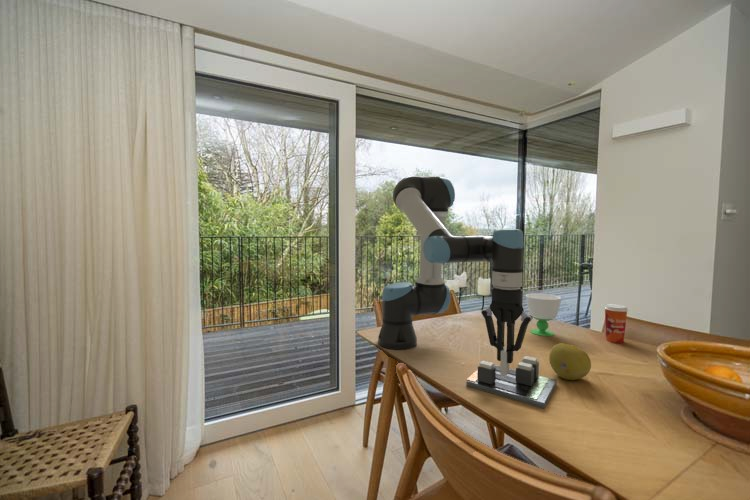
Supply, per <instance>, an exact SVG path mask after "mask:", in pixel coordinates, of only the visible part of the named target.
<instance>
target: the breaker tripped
mask: <svg viewBox="0 0 750 500" xmlns="http://www.w3.org/2000/svg"><path fill="white" fill-rule="evenodd" d="M494 365H495V363H494V362H491V361H487V360H481V361H480V362H479V365H478V366H477V370H478V379H477V381H481V382H485V383H488V384H493V383H494V382H495V378H496V367H495V366H494Z"/></svg>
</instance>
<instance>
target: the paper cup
mask: <svg viewBox="0 0 750 500" xmlns="http://www.w3.org/2000/svg"><path fill="white" fill-rule="evenodd" d="M628 312H629V309H628V307H627V306H626V305H622V304H615V303H608V304H605V305H604V316H605V317H604V318H605V319H604V320H605V321H604V322H605V323H604V324H605V339H606V341H607V342H610V343H613V344H614V343H615V344H623V343H624V341H625V333H626V323H627V314H628Z"/></svg>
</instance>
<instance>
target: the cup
mask: <svg viewBox="0 0 750 500" xmlns="http://www.w3.org/2000/svg"><path fill="white" fill-rule="evenodd" d="M525 300H526V303H527V308H528V313H529V314H528V315H531V316H532V317H533V319H535V320H537V322H536V327H537V328H536V329H531V330H530V333H531V334H533V335H534V336H535V335H536V336H540V337H553V336H554V335H555V333H554V332H553V331H550V330H548V329H549V323H548V322H549V321H552V320H554V319H556V318H557V316H558V313H559V309H560V305H561V302H562V297H561V296H559V295H555V294H550V293H542V292H541V293H540V292H539V293H537V292H536V293H535V292H534V293H533V292H532V293H527V294H525Z"/></svg>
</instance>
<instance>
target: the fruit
mask: <svg viewBox="0 0 750 500" xmlns="http://www.w3.org/2000/svg"><path fill="white" fill-rule="evenodd" d="M548 359H549V364H550V366H551V368H552V370H553V371H554V373H555V374H556V375H558V376H559V377H560V378H562V379H564V380H569V381H574V380H575V381H576V380H581V379H583V378H585V377H586V376H587V375H588V374H589V373H590V371H591V368H592V361H591V358H590V356H589V354H588V353H586V351H585V350H584V349H582V348H579V347H578V346H576V345H571V344H567V343H563V342H559V343H558V344H557V343H556V344H555V345H554V346H552V348H551V350H550V352H549V356H548Z"/></svg>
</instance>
